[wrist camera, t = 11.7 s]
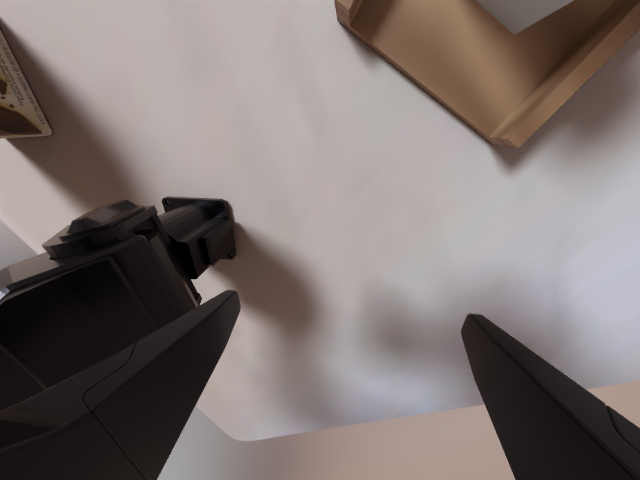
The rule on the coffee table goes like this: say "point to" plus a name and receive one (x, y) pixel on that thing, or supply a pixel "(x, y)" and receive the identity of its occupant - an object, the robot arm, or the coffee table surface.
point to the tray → (493, 55)
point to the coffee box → (17, 100)
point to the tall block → (521, 11)
